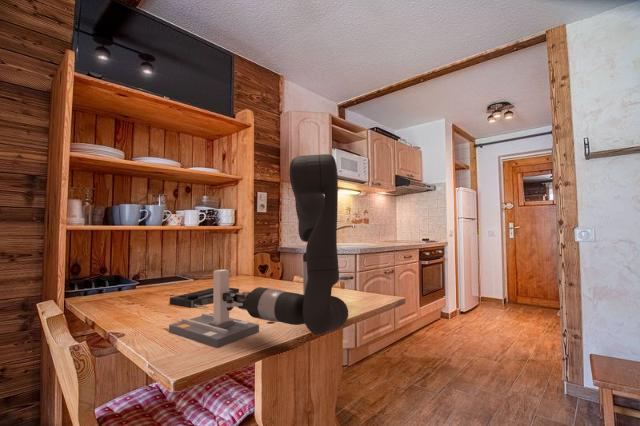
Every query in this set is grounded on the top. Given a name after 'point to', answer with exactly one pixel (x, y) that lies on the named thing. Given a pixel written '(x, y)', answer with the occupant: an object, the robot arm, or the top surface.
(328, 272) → the robot arm
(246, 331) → the switch panel
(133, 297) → the top surface
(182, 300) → the black rectangular tray
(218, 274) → the switch tab
